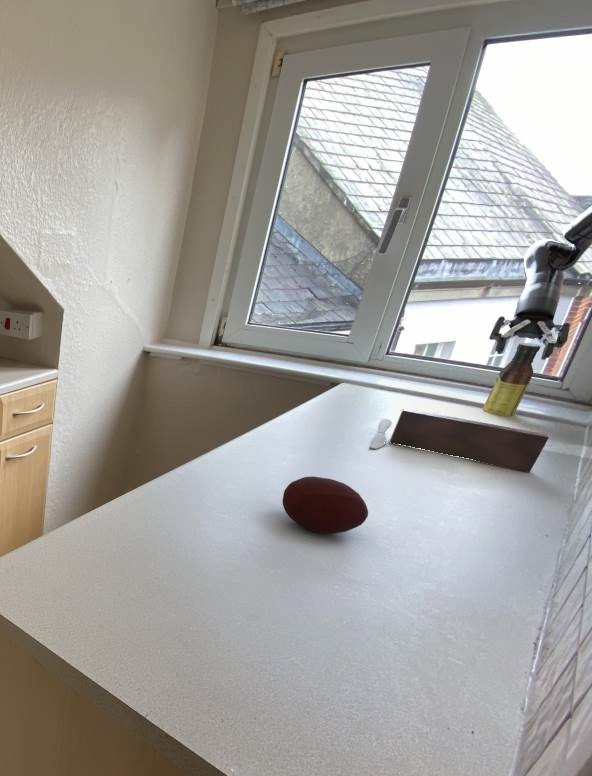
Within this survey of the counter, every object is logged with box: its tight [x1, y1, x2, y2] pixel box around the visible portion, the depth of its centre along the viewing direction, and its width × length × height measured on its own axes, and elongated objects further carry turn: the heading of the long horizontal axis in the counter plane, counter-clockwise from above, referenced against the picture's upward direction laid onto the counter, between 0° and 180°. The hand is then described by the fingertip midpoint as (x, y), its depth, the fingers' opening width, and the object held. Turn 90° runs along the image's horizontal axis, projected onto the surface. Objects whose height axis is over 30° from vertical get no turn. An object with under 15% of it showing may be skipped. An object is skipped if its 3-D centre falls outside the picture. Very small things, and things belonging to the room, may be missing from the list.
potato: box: [281, 475, 369, 535], centre depth 89 cm, size 12×11×8 cm
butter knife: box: [369, 418, 392, 450], centre depth 132 cm, size 1×27×3 cm
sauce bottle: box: [482, 342, 542, 417], centre depth 141 cm, size 6×6×20 cm
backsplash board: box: [389, 407, 550, 474], centre depth 119 cm, size 24×2×8 cm, turn 53°
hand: (522, 355), depth 142 cm, fingers open, 8 cm apart
